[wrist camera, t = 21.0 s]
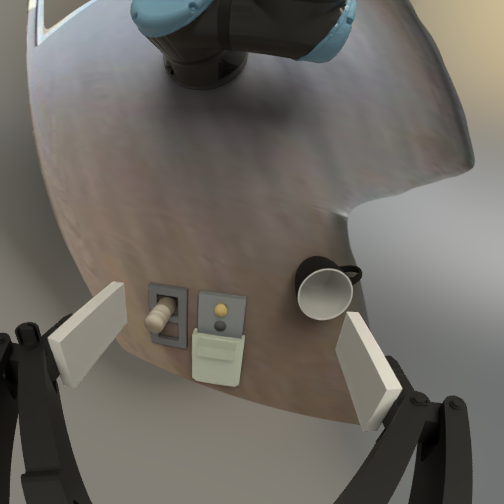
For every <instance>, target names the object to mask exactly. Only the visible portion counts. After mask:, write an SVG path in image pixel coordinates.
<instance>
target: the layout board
mask: <svg viewBox="0 0 504 504" xmlns="http://www.w3.org/2000/svg"><path fill="white" fill-rule="evenodd" d="M246 299H247V296H240V295H232V294H224V293H217V292H210V291H202V290H201V291H200V292H199V306H198V333H204V334H210V335H217V336H224V337H232V338H239V339H242V332H243V324H244V315H245V307H246Z"/></svg>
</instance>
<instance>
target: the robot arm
mask: <svg viewBox="0 0 504 504" xmlns="http://www.w3.org/2000/svg"><path fill="white" fill-rule="evenodd" d="M355 15H356V0H133V1H132V4H131V17H132V19H133V21H134V23H135V24H136V25H137V26H138V29H139V31H140V32H141V33H142V34H143V35H144V36H146V37H147V38H148V39H149V40H150V41H151V42H152V43H153V44H154V45H155V46H156V47H157V48H158V49H159V50H160V51H161V52H162V53H163V58H164V65H165V68H166V70H167V72H168V74H169V75H170V76H171V77H172V78H173V79H174V80H175V81H176V82H177V83H178V84H180V85H182V86H184V87H186V88H190V89H195V90H207V89H213V88H216V87H219V86H222V85H224V84H226V83H228V82H229V81H231V80H232V79H233V78H235V77H236V76H237V75H238V74H239V73H240V71H241V70H242V69H243V67H244V65H245V63H246V60H247V55H248V52H250V53H258V54H266V55H273V56H279V57H285V58H291V59H293V60H295V61H302V60H304V61H310V62H315V63H324V62H328V61H330V60H331V59H333V58H334V57H335V56H336V55H337V54H338V53H339V51H340V50H341V49H342V47H343V45H344V44H345V42H346V40H347V38H348V36H349V33H350V31H351V28H352V27H351V24H352V22H353V20H354V18H355ZM126 324H127V313H126V302H125V289H124V283H121V282H116V281H113V282H112V283H110V284H109V285H108V286H107V287H106V288H104V289H103V290H102V291H101V292H99V293H98V294H97V295H96V296H95V297H93V298H92V299H91V300H90V301H89V302H88V303H86V304H85V305H84V306H83V307H82V308H81V309H79V310H78V311H77V312H76V313H75V314H69V315H67V316H65V317H63V318H62V319H61V320H60V321H59V322H58V323H56V324H55V325H54V327H52V328H50V330H48V331H47V332H46V333H45V334H44V335H43V336H41V334H40V331H39V327H38V325H37V324H36V323H32V322H27V323H23V324H21V325H19V326H18V327H17V328H16V329H15V334H16V337H17V340H18V343H19V344H17V343H12V342H11V339H10V336H9V335H8V334H7V333H0V504H9V497H10V471H11V458H12V450H13V441H14V435H15V428H16V423H17V418H18V413H19V425H20V435H21V444H22V451H23V457H24V463H25V469H26V473H25V474H22V475H21V483H22V488H23V491H24V496H25V500H26V503H27V504H92V502H91V501H90V498H89V496H88V494H87V491H86V489H85V486H84V484H83V481H82V478H81V476H80V473H79V470H78V467H77V464H76V461H75V457H74V455H73V451H72V448H71V444H70V440H69V436H68V433H67V428H66V424H65V420H64V415H63V410H62V405H61V400H60V394H59V388H58V383H57V381H56V379H57V378H58V376H59V375H60V377H61V379H62V382H63V384H65V385H67V386H69V387H72V388H74V389H75V388H76V387H77V386H78V384H79V383H80V382H81V380H82V379H83V378H84V377H85V375H86V374H87V373H88V371H89V370H90V369H91V367H92V366H93V365H94V363H95V362H96V361H97V360H98V358H99V357H100V356H101V355H102V353H103V352H104V351H105V350H106V348H107V347H108V346H109V344H110V343H111V342H112V341H113V340H114V338H115V337H116V336H117V335H118V333H119V332H120V331H121V330H122V329H123V327H124V326H125V325H126ZM335 352H336V354H337V357H338V360H339V363H340V366H341V369H342V371H343V374H344V377H345V380H346V383H347V386H348V389H349V392H350V395H351V398H352V401H353V404H354V407H355V410H356V413H357V416H358V420H359V423H360V426H361V429H362V432H366V431H375V430H378V428H379V427H380V425H381V424H382V422H383V425H384V427H385V429H384V430H383V432H382V433H381V435H380V436H379V438H378V439H377V441H376V444H375V445H374V447H373V449H372V450H371V452H370V453H369V455H368V457H367V458H366V460H365V461H364V463H363V464H362V466H361V467H360V469H359V470H358V472H357V473H356V474H355V476H354V477H353V479H352V480H351V482H350V483H349V484H348V485H347V487H346V488H345V489H344V491H343V492H342V493H341V495H340V496H339V497H338V499H337V500H336V501H335V502H334V503H333V504H387V503H388V502H389V500H390V498H391V496H392V495H393V493H394V491H395V489H396V487H397V485H398V483H399V481H400V480H401V477H402V476H403V474H404V471H405V469H406V467H407V465H408V463H409V461H410V458H411V456H412V454H413V451H414V449H415V447H416V444H417V454H416V462H415V470H414V476H413V482H412V488H411V493H410V498H409V503H408V504H472V451H471V439H470V428H469V421H468V413H467V407H466V404H465V402H464V401H463V400H462V399H461V398H459V397H457V396H448V397H446V399H445V400H444V401H443V403H434V402H430V400H429V398H428V397H427V396H426V395H425V394H423V393H421V392H418V391H414V389H413V387H412V386H411V384H410V382H409V381H408V379H407V377H406V375H404V372H403V370H402V369H401V367H400V365H399V364H398V362H397V361H396V360H395V359H394V358H392V357H391V356H384V355H383V353H382V351H381V349H380V348H379V346H378V344H377V343H376V341H375V339H374V337H373V336H372V334H371V332H370V331H369V329H368V327H367V326H366V324H365V322H364V321H363V319H362V317H361V316H360V314H359V313H358V312H346V316H345V319H344V322H343V326H342V329H341V332H340V336H339V339H338V342H337V345H336V348H335Z"/></svg>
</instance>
